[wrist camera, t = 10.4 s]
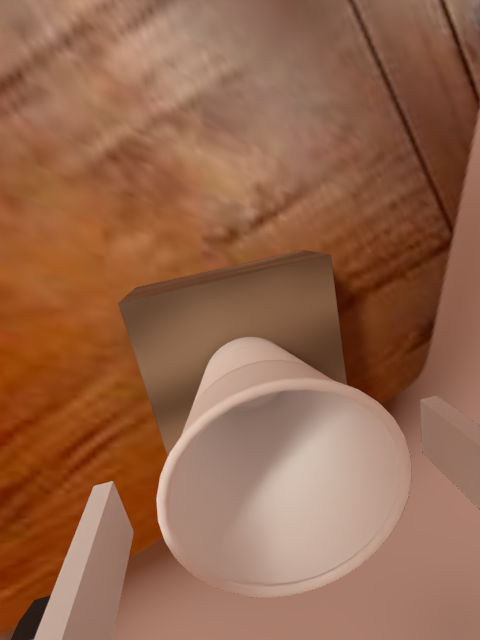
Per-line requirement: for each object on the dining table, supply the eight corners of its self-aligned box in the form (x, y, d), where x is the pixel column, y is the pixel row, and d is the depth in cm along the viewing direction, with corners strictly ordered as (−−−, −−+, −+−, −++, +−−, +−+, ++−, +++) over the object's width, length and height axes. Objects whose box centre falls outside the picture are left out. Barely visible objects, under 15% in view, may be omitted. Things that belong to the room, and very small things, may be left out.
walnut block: (135, 287, 26) (118, 303, 20) (302, 250, 27) (330, 255, 21) (180, 433, 30) (175, 481, 24) (324, 396, 31) (353, 434, 25)
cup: (336, 328, 23) (455, 412, 12) (290, 449, 25) (357, 609, 14) (197, 290, 21) (196, 349, 10) (160, 424, 23) (128, 587, 12)
